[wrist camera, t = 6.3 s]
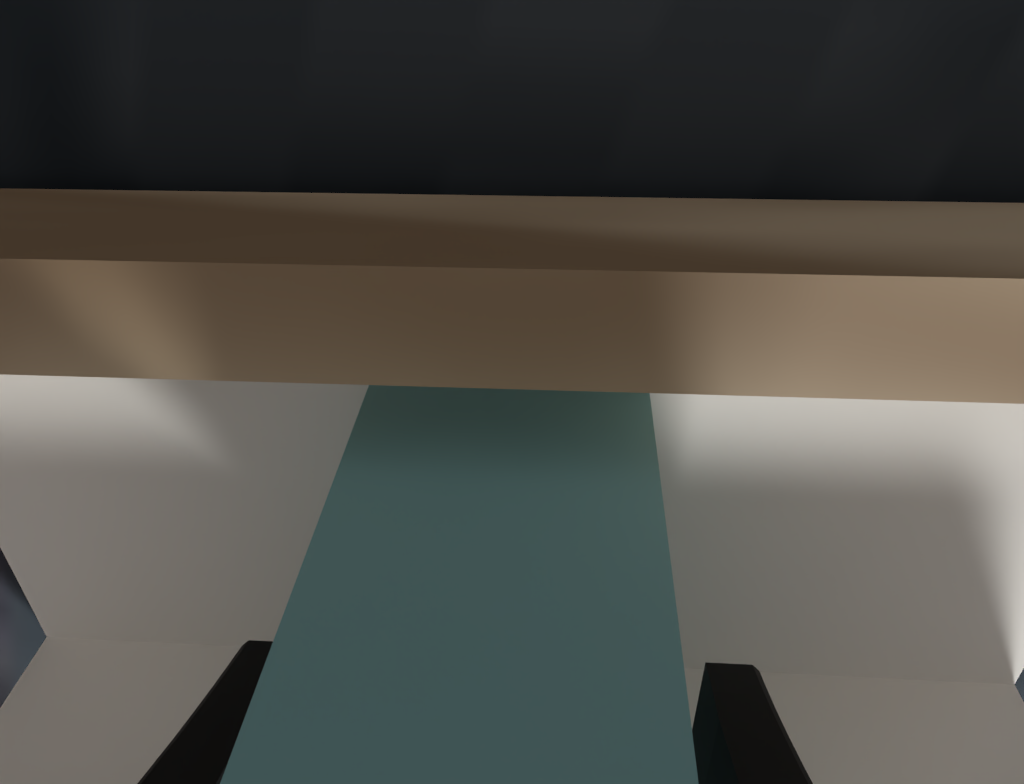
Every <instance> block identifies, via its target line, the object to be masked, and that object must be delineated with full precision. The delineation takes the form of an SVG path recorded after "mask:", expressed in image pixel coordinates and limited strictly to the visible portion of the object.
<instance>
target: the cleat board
mask: <svg viewBox="0 0 1024 784" xmlns="http://www.w3.org/2000/svg"><path fill="white" fill-rule="evenodd" d="M369 385H385V386H420V387H455V388H489V389H524V390H559V391H594V392H629V393H650V400H651V408H652V416H653V424H654V432H655V440H656V448H657V456H658V464H659V472H660V480H661V488H662V496H663V504H664V512H665V520H666V528H667V536H668V544H669V552H670V560H671V568H672V575H673V583H674V591H675V599H676V607H677V615H678V623H679V631H680V639H681V647H682V655H683V663H684V671H685V679H686V687H687V695H688V703H689V711H690V719H691V727H692V728H693V723H694V717H695V712H696V707H697V702H698V697H699V692H700V687H701V682H702V677H703V672H704V667H705V662H708V663H728V664H749V665H753V666H754V667H756V668H757V669H758V670H759V671H760V674H761V676H762V679H763V681H764V683H765V686H766V688H767V690H768V693H769V695H770V697H771V699H772V702H773V704H774V706H775V708H776V710H777V713H778V715H779V717H780V719H781V721H782V723H783V725H784V727H785V730H786V732H787V734H788V736H789V738H790V740H791V742H792V744H793V746H794V748H795V750H796V752H797V754H798V756H799V758H800V760H801V762H802V764H803V766H804V768H805V770H806V772H807V773H808V775H809V777H810V779H811V781H812V783H813V784H1024V702H1023V700H1022V698H1021V696H1020V694H1019V692H1018V691H1017V689H1016V687H1015V685H1014V684H1015V682H1016V681H1017V679H1018V677H1019V675H1020V673H1021V672H1022V670H1023V668H1024V203H993V202H923V201H853V200H782V199H711V198H641V197H570V196H500V195H429V194H359V193H288V192H218V191H147V190H77V189H6V188H0V548H1V550H2V552H3V554H4V556H5V558H6V559H7V561H8V563H9V565H10V567H11V569H12V571H13V573H14V575H15V577H16V579H17V581H18V582H19V584H20V586H21V588H22V590H23V592H24V594H25V596H26V598H27V600H28V602H29V604H30V606H31V607H32V609H33V611H34V613H35V615H36V617H37V619H38V621H39V623H40V625H41V627H42V629H43V631H44V632H45V634H46V636H47V637H46V639H45V640H44V642H43V644H42V645H41V647H40V648H39V650H38V651H37V653H36V654H35V656H34V657H33V659H32V660H31V662H30V663H29V665H28V666H27V668H26V670H25V671H24V673H23V674H22V676H21V677H20V679H19V680H18V682H17V683H16V685H15V686H14V688H13V689H12V691H11V692H10V694H9V695H8V697H7V699H6V700H5V702H4V703H3V705H2V706H1V708H0V784H137V783H138V782H139V781H140V780H141V778H142V777H143V776H144V775H145V773H146V772H147V771H148V770H149V768H150V767H151V766H152V765H153V763H154V762H155V761H156V760H157V758H158V757H159V756H160V755H161V753H162V752H163V751H164V750H165V748H166V747H167V746H168V745H169V743H170V742H171V741H172V740H173V738H174V737H175V736H176V734H177V733H178V732H179V730H180V729H181V728H182V727H183V725H184V724H185V723H186V721H187V720H188V719H189V717H190V716H191V715H192V713H193V712H194V711H195V709H196V708H197V707H198V705H199V704H200V703H201V701H202V700H203V699H204V697H205V696H206V695H207V693H208V692H209V691H210V689H211V688H212V687H213V685H214V684H215V682H216V681H217V680H218V678H219V677H220V676H221V674H222V673H223V671H224V670H225V669H226V667H227V666H228V665H229V663H230V662H231V660H232V659H233V658H234V656H235V655H236V653H237V652H238V651H239V649H240V648H241V646H242V645H243V644H245V643H246V642H247V641H248V640H255V641H273V640H274V638H275V635H276V632H277V630H278V627H279V624H280V622H281V619H282V616H283V614H284V611H285V608H286V606H287V603H288V600H289V598H290V595H291V592H292V590H293V587H294V584H295V582H296V579H297V576H298V574H299V571H300V568H301V566H302V563H303V560H304V558H305V555H306V552H307V550H308V547H309V544H310V541H311V539H312V536H313V533H314V531H315V528H316V525H317V523H318V520H319V517H320V515H321V512H322V509H323V507H324V504H325V501H326V499H327V496H328V493H329V491H330V488H331V485H332V483H333V480H334V477H335V475H336V472H337V469H338V467H339V464H340V461H341V459H342V456H343V453H344V451H345V448H346V445H347V442H348V440H349V437H350V434H351V432H352V429H353V426H354V424H355V421H356V418H357V416H358V413H359V410H360V408H361V405H362V402H363V400H364V397H365V394H366V392H367V389H368V386H369Z"/></svg>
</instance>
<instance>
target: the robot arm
mask: <svg viewBox="0 0 1024 784" xmlns="http://www.w3.org/2000/svg"><path fill="white" fill-rule="evenodd" d="M272 643H273V641H255V640H248V641H247V642H246V643H245V644H243V645H242V646H241V648H240V649H239V651H238V652H237V653H236V655H235V656H234V658H233V659H232V660H231V662H230V663H229V665H228V666H227V667H226V669H225V670H224V671H223V673H222V674H221V676H220V677H219V678H218V680H217V681H216V682H215V684H214V685H213V687H212V688H211V689H210V691H209V692H208V693H207V695H206V696H205V697H204V699H203V700H202V701H201V703H200V704H199V705H198V707H197V708H196V709H195V711H194V712H193V713H192V715H191V716H190V717H189V719H188V720H187V721H186V723H185V724H184V725H183V727H182V728H181V729H180V730H179V732H178V733H177V734H176V736H175V737H174V738H173V740H172V741H171V742H170V743H169V745H168V746H167V747H166V748H165V750H164V751H163V752H162V753H161V755H160V756H159V757H158V758H157V760H156V761H155V762H154V763H153V765H152V766H151V767H150V768H149V770H148V771H147V772H146V773H145V775H144V776H143V777H142V778H141V780H140V781H139V782H138V783H137V784H220V782H221V780H222V777H223V774H224V772H225V769H226V766H227V764H228V761H229V758H230V756H231V753H232V750H233V748H234V745H235V742H236V739H237V737H238V734H239V731H240V729H241V726H242V723H243V721H244V718H245V715H246V713H247V710H248V707H249V705H250V702H251V699H252V697H253V694H254V691H255V689H256V686H257V683H258V681H259V678H260V675H261V673H262V670H263V667H264V665H265V662H266V659H267V657H268V654H269V651H270V649H271V646H272ZM692 735H693V743H694V751H695V758H696V766H697V774H698V782H699V784H813V783H812V781H811V779H810V777H809V775H808V773H807V772H806V770H805V768H804V766H803V764H802V762H801V760H800V758H799V756H798V754H797V752H796V750H795V748H794V746H793V744H792V742H791V740H790V738H789V736H788V734H787V732H786V730H785V727H784V725H783V723H782V721H781V719H780V717H779V715H778V713H777V710H776V708H775V706H774V704H773V702H772V699H771V697H770V695H769V693H768V690H767V688H766V686H765V683H764V681H763V679H762V676H761V674H760V671H759V670H758V669H757V668H756V667H754V666H753V665H749V664H728V663H708V662H705V667H704V672H703V677H702V682H701V687H700V692H699V697H698V702H697V707H696V712H695V717H694V723H693V728H692Z"/></svg>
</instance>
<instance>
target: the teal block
mask: <svg viewBox="0 0 1024 784" xmlns="http://www.w3.org/2000/svg"><path fill="white" fill-rule="evenodd" d="M220 784H699V782H698V774H697V766H696V758H695V751H694V743H693V735H692V727H691V719H690V711H689V703H688V695H687V687H686V679H685V671H684V663H683V655H682V647H681V639H680V631H679V623H678V615H677V607H676V599H675V591H674V583H673V575H672V568H671V560H670V552H669V544H668V536H667V528H666V520H665V512H664V504H663V496H662V488H661V480H660V472H659V464H658V456H657V448H656V440H655V432H654V424H653V416H652V408H651V400H650V393H629V392H594V391H559V390H524V389H489V388H455V387H420V386H385V385H369V386H368V389H367V392H366V394H365V397H364V400H363V402H362V405H361V408H360V410H359V413H358V416H357V418H356V421H355V424H354V426H353V429H352V432H351V434H350V437H349V440H348V442H347V445H346V448H345V451H344V453H343V456H342V459H341V461H340V464H339V467H338V469H337V472H336V475H335V477H334V480H333V483H332V485H331V488H330V491H329V493H328V496H327V499H326V501H325V504H324V507H323V509H322V512H321V515H320V517H319V520H318V523H317V525H316V528H315V531H314V533H313V536H312V539H311V541H310V544H309V547H308V550H307V552H306V555H305V558H304V560H303V563H302V566H301V568H300V571H299V574H298V576H297V579H296V582H295V584H294V587H293V590H292V592H291V595H290V598H289V600H288V603H287V606H286V608H285V611H284V614H283V616H282V619H281V622H280V624H279V627H278V630H277V632H276V635H275V638H274V640H273V643H272V646H271V649H270V651H269V654H268V657H267V659H266V662H265V665H264V667H263V670H262V673H261V675H260V678H259V681H258V683H257V686H256V689H255V691H254V694H253V697H252V699H251V702H250V705H249V707H248V710H247V713H246V715H245V718H244V721H243V723H242V726H241V729H240V731H239V734H238V737H237V739H236V742H235V745H234V748H233V750H232V753H231V756H230V758H229V761H228V764H227V766H226V769H225V772H224V774H223V777H222V780H221V782H220Z"/></svg>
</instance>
